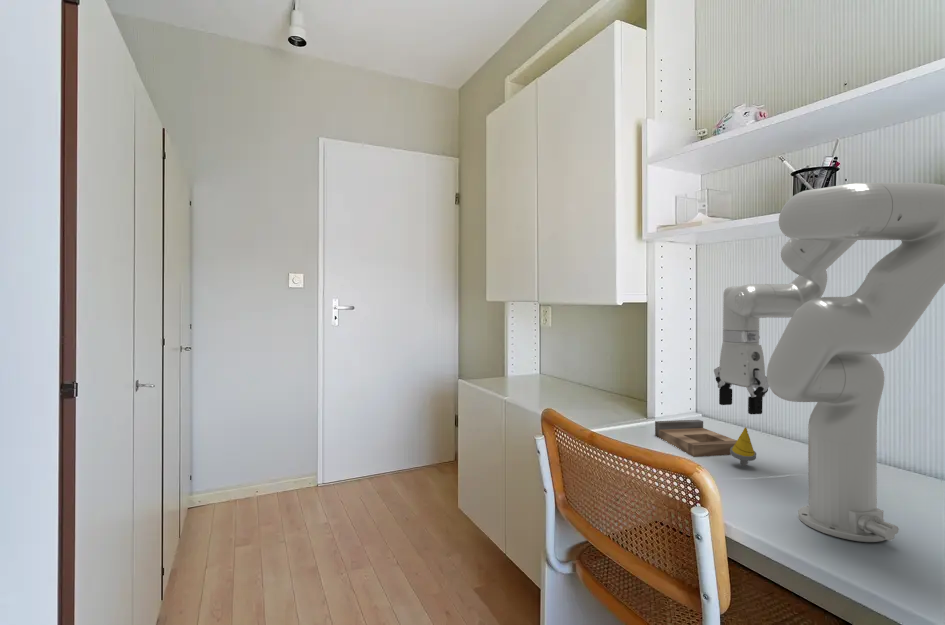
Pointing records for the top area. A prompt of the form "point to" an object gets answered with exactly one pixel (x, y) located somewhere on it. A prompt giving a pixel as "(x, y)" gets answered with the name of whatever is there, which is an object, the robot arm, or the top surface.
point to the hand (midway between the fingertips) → (739, 409)
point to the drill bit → (743, 449)
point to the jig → (693, 438)
